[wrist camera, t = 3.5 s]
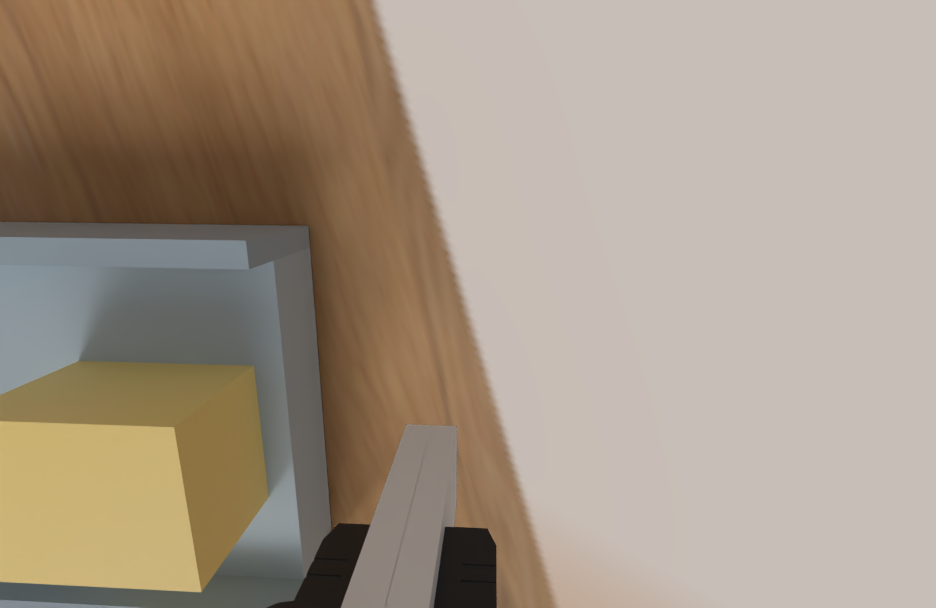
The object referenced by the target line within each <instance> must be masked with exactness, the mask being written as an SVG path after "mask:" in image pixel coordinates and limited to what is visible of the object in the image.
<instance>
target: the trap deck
mask: <svg viewBox="0 0 936 608" xmlns="http://www.w3.org/2000/svg"><path fill="white" fill-rule="evenodd" d="M77 361H101V362H136V363H172V364H208V365H243V366H254V371H255V380H256V389H257V398H258V406H259V415H260V424H261V433H262V441H263V450H264V459H265V468H266V477H267V485H268V494H269V498H268V499H267V501H266V502H265V503H264V505H263V506H262V508H261V509H260V510H259V512H258V513H257V515H256V516H255V518H254V519H253V520H252V522H251V523H250V525H249V526H248V527H247V529H246V530H245V532H244V533H243V534H242V536H241V537H240V539H239V540H238V541H237V543H236V544H235V546H234V547H233V548H232V550H231V551H230V553H229V554H228V556H227V557H226V558H225V560H224V561H223V563H222V564H221V565H220V567H219V568H218V570H217V571H216V572H215V574H214V575H213V577H212V578H211V579H210V581H209V582H208V584H207V585H206V586H205V588H204V589H203V591H202V592H185V591H166V590H147V589H128V588H108V587H89V586H70V585H51V584H31V583H12V582H0V608H266V607H269V606H271V605H274V604H276V603H278V602H287V601H294V599H295V597H296V595H297V593H298V591H299V589H300V587H301V584H302V582H303V580H304V578H306V575H307V572H308V570H309V568H310V565H311V563H312V562H314V557H315V555H316V553H317V551H318V549H319V547H320V544H321V542H322V540H323V539H324V538H325V537H326V536H327V535H328V534H329V533H330V532H331V531H332V528H331V515H330V502H329V489H328V476H327V463H326V450H325V437H324V424H323V411H322V398H321V384H320V371H319V358H318V345H317V332H316V319H315V306H314V293H313V280H312V267H311V254H310V241H309V228H308V226H289V225H215V224H140V223H66V222H0V395H1V394H3V393H6V392H8V391H10V390H13V389H15V388H17V387H19V386H22V385H24V384H26V383H29V382H31V381H33V380H36V379H38V378H40V377H43V376H45V375H47V374H50V373H52V372H54V371H56V370H59V369H61V368H63V367H66V366H68V365H70V364H73V363H75V362H77Z"/></svg>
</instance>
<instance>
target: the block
mask: <svg viewBox="0 0 936 608" xmlns="http://www.w3.org/2000/svg"><path fill="white" fill-rule="evenodd" d="M268 498H269V494H268V485H267V477H266V468H265V459H264V450H263V441H262V433H261V424H260V415H259V406H258V398H257V389H256V380H255V371H254V366H243V365H208V364H172V363H136V362H101V361H77V362H75V363H73V364H70V365H68V366H66V367H63V368H61V369H59V370H56V371H54V372H52V373H50V374H47V375H45V376H43V377H40V378H38V379H36V380H33V381H31V382H29V383H26V384H24V385H22V386H19V387H17V388H15V389H13V390H10V391H8V392H6V393H3V394H1V395H0V582H12V583H31V584H51V585H70V586H89V587H108V588H128V589H147V590H166V591H185V592H202V591H203V589H204V588H205V586H206V585H207V584H208V582H209V581H210V579H211V578H212V577H213V575H214V574H215V572H216V571H217V570H218V568H219V567H220V565H221V564H222V563H223V561H224V560H225V558H226V557H227V556H228V554H229V553H230V551H231V550H232V548H233V547H234V546H235V544H236V543H237V541H238V540H239V539H240V537H241V536H242V534H243V533H244V532H245V530H246V529H247V527H248V526H249V525H250V523H251V522H252V520H253V519H254V518H255V516H256V515H257V513H258V512H259V510H260V509H261V508H262V506H263V505H264V503H265V502H266V501H267V499H268Z"/></svg>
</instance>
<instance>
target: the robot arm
mask: <svg viewBox="0 0 936 608" xmlns="http://www.w3.org/2000/svg"><path fill="white" fill-rule="evenodd" d="M456 505H457V426H437V425H409V424H406V427H405V430H404V433H403V435H402V438H401V441H400V444H399V447H398V449H397V452H396V455H395V458H394V461H393V463H392V466H391V469H390V472H389V475H388V477H387V480H386V483H385V486H384V488H383V491H382V494H381V497H380V500H379V502H378V505H377V508H376V511H375V514H374V516H373V519H372V522H371V525H365V524H343V523H339V524H338V525H337V526H336V527H335V528H334V529H333V530H332V531H331V532H330V533H329V534H328V535H327V536H326V537H325V538H324V539H323V540H322V542H321V544H320V547H319V549H318V551H317V553H316V555H315V557H314V562H312V563H311V565H310V568H309V570H308V572H307V575H306V578H304V580H303V582H302V584H301V587H300V589H299V591H298V593H297V595H296V597H295V599H294V601H287V602H278V603H276V604H274V605H271V606H269V607H266V608H497V607H496V544H495V542H494V541H493V539H492V537H491V535H490V533H489V531H488V529H484V528H462V527H454V523H455V514H456Z"/></svg>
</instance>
